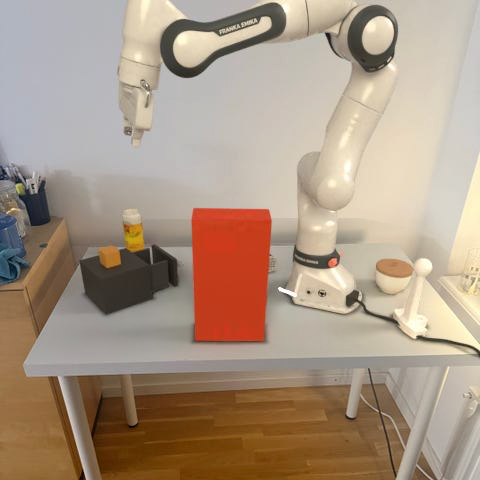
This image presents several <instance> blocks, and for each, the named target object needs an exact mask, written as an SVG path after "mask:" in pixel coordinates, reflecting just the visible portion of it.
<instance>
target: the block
mask: <svg viewBox="0 0 480 480" xmlns="http://www.w3.org/2000/svg"><path fill="white" fill-rule="evenodd" d="M119 250H120V249H118V248H117V247H116V246H115V245H113V244H110V245H108V246H107V245H106V246H104V247H99V248H97V251H98V255H99V257H100V263H101V264H102V265H104V266H105V267H106V268H110V267H113V266H117V265H120V264H121V260H120V252H119Z"/></svg>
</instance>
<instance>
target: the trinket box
mask: <svg viewBox="0 0 480 480" xmlns="http://www.w3.org/2000/svg"><path fill="white" fill-rule="evenodd" d="M413 273H414V270H413V265H411V263H408V262H407V261H405V260H402V259H397V258H383V259H382V258H381V259H379V260H378V261H377V262H376V263H375V271H374V281H375V283H376V286H378V288H379V290H380V291H381V292H383V293H386V294H391V295H395V294H399V293H400V292H401V291H403V290H405V289H406V288H407V287H408V285H409V283H410V281H411V280H412V279H411V278H412V275H413Z"/></svg>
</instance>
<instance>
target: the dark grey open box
mask: <svg viewBox="0 0 480 480" xmlns="http://www.w3.org/2000/svg"><path fill="white" fill-rule="evenodd" d="M118 250H119V252H120V260H121V264H120V265H117V266H113V267H110V268H106V267H105V266H104V265H102V264H101V263H100V257H99V254H98V255H94V256H91V257H86V258H83V259H79V260H78V262H79V267H80V273H81V279H82V283H83V289H84V294H85V295H86V296H87V297H88V299H90V300H91V301H92V302H93V303H94V304H95V305H96V306H97V307H98V308H99V309H100V310H101V311H102V313H104V314H105V315H108V314H109V315H110V314H111V313H114V312H118V311H120V310H124V309H126V308H129V307H132V306H136V305H138V304H141V303H144V302H147V301H150V300H152V299H153V292H152V290H151V279H150V267H149V264H147V263H146V262H145V261H143V260H142V259H140V258H139V257H138V256H136V255H135V254H134V253H132V252H131V251H130V250H128V249H127V248H126V247H123V248H120V249H118Z"/></svg>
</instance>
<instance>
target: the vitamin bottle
mask: <svg viewBox="0 0 480 480" xmlns="http://www.w3.org/2000/svg"><path fill="white" fill-rule="evenodd" d="M121 219H122V226H123V227H122V228H123V235H124V242H125V248H127V249H128V250H130V251H131V252H135V251H139V250H143V249H145V238H144V230H143V219H142V213H141V211H140V210H139V209H138V208H127V209H125V210H123V211H122V215H121Z"/></svg>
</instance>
